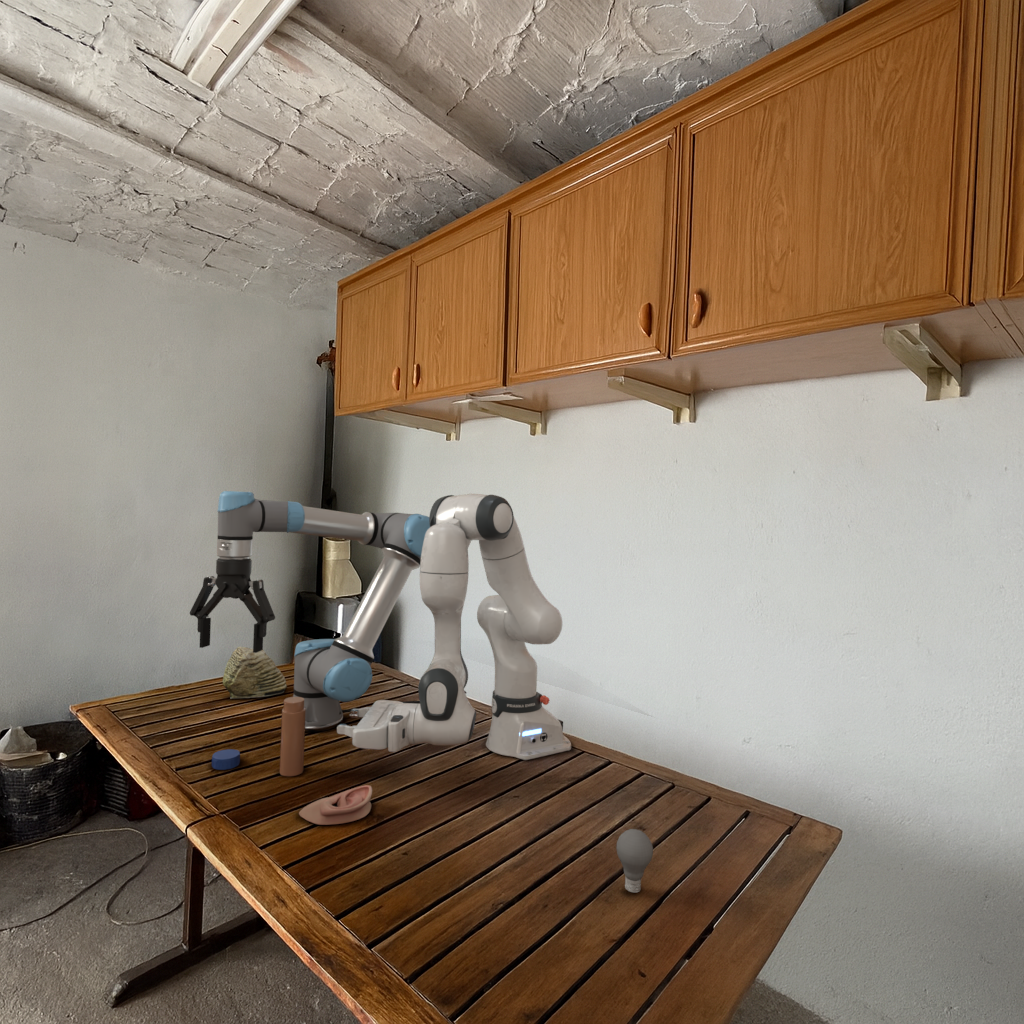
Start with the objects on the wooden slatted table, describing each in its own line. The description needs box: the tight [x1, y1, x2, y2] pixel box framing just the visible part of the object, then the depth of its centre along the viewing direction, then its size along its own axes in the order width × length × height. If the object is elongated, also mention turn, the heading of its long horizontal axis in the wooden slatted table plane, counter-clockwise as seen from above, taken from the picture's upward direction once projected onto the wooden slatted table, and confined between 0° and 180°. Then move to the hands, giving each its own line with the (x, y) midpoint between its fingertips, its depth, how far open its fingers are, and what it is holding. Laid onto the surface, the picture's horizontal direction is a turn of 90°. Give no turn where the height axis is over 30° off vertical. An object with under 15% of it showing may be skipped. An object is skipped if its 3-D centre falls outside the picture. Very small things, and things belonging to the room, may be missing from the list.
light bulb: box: [615, 828, 654, 894], centre depth 106 cm, size 6×6×10 cm
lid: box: [211, 748, 241, 771], centre depth 147 cm, size 6×6×2 cm
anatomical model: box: [298, 784, 373, 826], centre depth 127 cm, size 13×4×12 cm
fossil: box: [222, 646, 288, 699], centre depth 198 cm, size 9×18×15 cm, turn 132°
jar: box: [279, 696, 306, 777], centre depth 145 cm, size 5×5×17 cm
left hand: (231, 649), depth 147 cm, fingers open, 13 cm apart
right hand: (344, 720), depth 145 cm, fingers open, 8 cm apart
